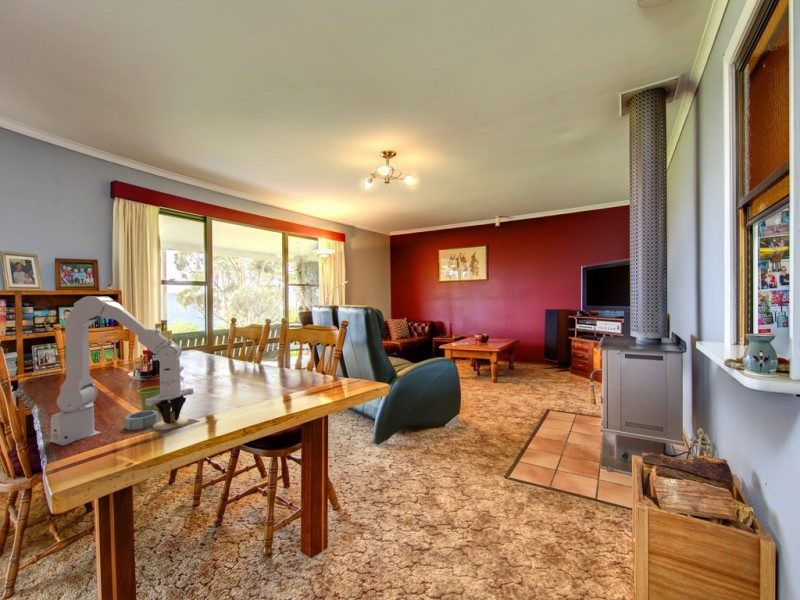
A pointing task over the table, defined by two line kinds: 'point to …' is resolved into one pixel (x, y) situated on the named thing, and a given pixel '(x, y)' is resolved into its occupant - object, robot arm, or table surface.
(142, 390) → the plant pot
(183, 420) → the lid
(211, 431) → the table surface
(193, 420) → the mat
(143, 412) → the bowl
